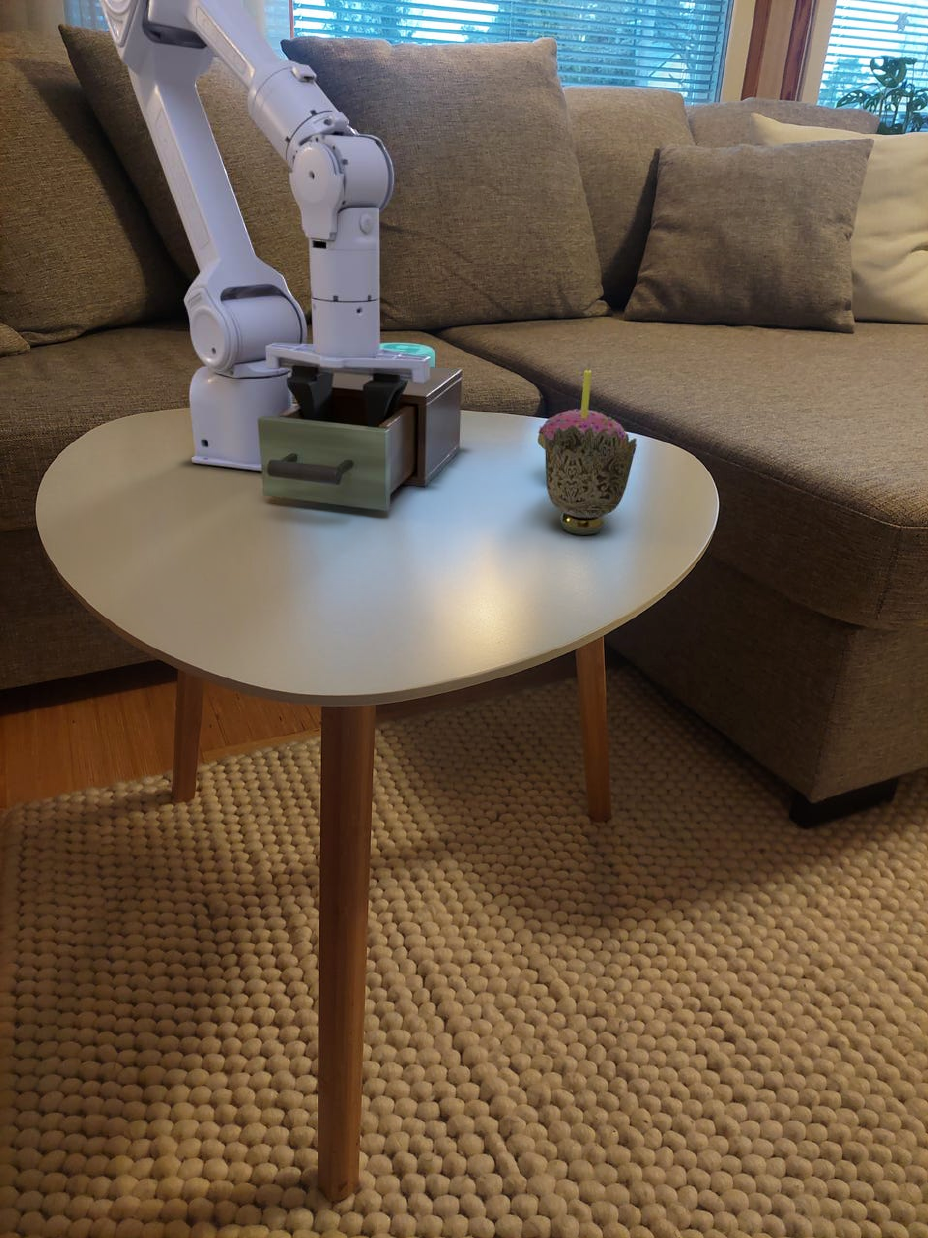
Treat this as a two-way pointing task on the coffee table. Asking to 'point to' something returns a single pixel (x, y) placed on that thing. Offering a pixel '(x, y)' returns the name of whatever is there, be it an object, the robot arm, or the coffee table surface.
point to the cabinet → (423, 416)
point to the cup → (587, 475)
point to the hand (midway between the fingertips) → (349, 454)
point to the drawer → (338, 454)
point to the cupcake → (581, 418)
